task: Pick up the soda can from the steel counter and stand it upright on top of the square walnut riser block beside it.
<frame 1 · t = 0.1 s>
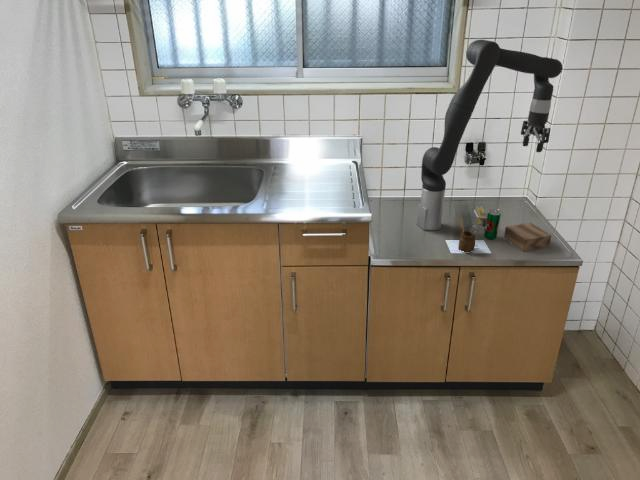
hand: (531, 148, 212), 29 cm above the worktop, tool pointing down, fingers open, 8 cm apart
utensil holder: (465, 250, 195), on the worktop
walnut riser: (525, 242, 200), on the worktop
soda can: (489, 237, 204), on the worktop
grey flat gold-topped slab: (478, 223, 217), on the worktop
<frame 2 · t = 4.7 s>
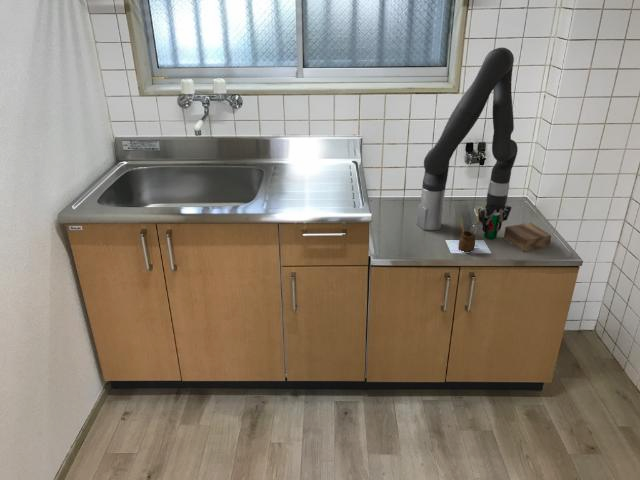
hand: (491, 230, 202), 3 cm above the worktop, tool pointing down, fingers closed on soda can, 5 cm apart
soda can: (489, 237, 204), on the worktop, touching gripper
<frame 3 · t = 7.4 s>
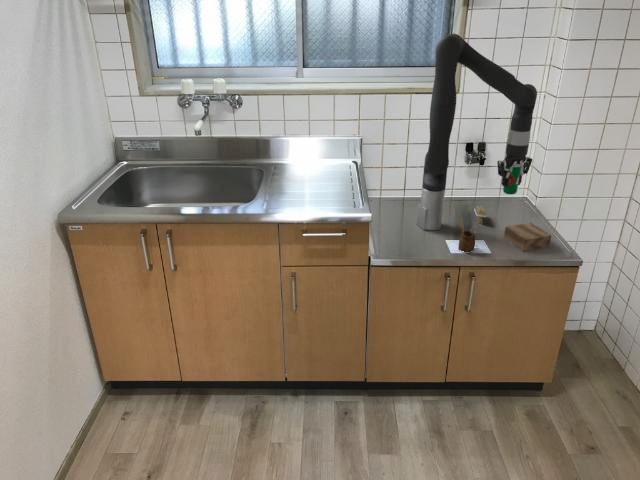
hand: (511, 185, 192), 23 cm above the worktop, tool pointing down, fingers closed on soda can, 5 cm apart
soda can: (509, 193, 193), point 20 cm above the worktop, touching gripper
when the fingers open (9 cm above the worktop, at t = 10.5 s): soda can drops 1 cm, resting on walnut riser.
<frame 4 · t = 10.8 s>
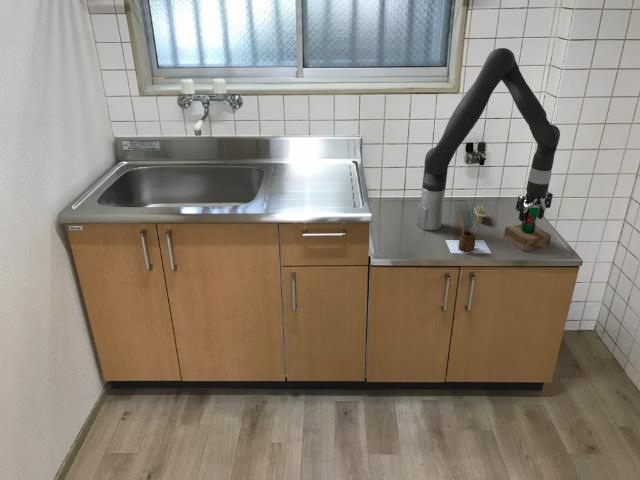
hand: (530, 219, 195), 10 cm above the worktop, tool pointing down, fingers open, 8 cm apart
soda can: (527, 231, 198), point 5 cm above the worktop, touching walnut riser
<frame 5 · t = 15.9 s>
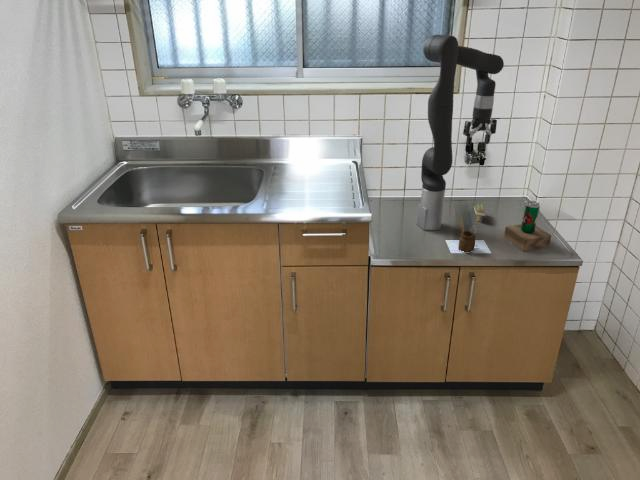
hand: (477, 144, 214), 30 cm above the worktop, tool pointing down, fingers open, 8 cm apart
at the end: soda can inside the target area on the walnut riser (0.3 cm from its centre), point 4.8 cm above the walnut riser's base; soda can tilted 0°; the gripper is holding nothing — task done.
